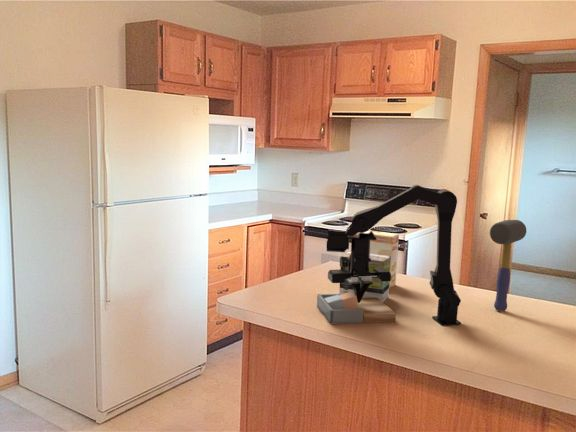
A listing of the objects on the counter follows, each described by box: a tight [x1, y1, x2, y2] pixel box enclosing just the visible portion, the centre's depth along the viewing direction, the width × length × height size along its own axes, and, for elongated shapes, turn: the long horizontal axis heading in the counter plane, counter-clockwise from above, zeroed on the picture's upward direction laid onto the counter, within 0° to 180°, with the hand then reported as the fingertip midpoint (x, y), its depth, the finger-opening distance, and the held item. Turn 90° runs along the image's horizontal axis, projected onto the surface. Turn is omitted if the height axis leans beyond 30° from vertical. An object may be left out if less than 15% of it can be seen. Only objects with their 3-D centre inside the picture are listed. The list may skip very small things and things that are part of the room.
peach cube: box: [339, 292, 359, 309], centre depth 164 cm, size 4×4×4 cm
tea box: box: [338, 250, 391, 303], centre depth 182 cm, size 15×10×15 cm, turn 65°
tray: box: [316, 293, 364, 325], centre depth 164 cm, size 16×10×4 cm, turn 11°
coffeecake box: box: [355, 229, 400, 289], centre depth 200 cm, size 15×7×20 cm, turn 58°
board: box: [358, 298, 397, 324], centre depth 166 cm, size 16×10×2 cm, turn 11°
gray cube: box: [324, 295, 344, 310], centre depth 164 cm, size 4×4×4 cm
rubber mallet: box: [489, 219, 527, 313], centre depth 172 cm, size 12×8×30 cm, turn 133°
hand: (358, 302), depth 165 cm, fingers closed
